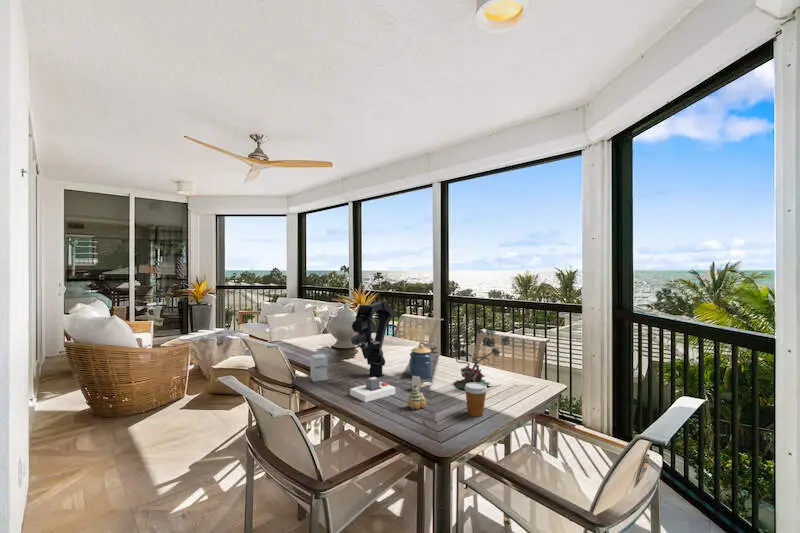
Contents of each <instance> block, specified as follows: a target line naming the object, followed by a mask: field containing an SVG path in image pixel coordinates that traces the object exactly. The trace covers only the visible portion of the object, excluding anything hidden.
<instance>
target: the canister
mask: <svg viewBox="0 0 800 533" xmlns="http://www.w3.org/2000/svg"><path fill="white" fill-rule="evenodd" d="M410 350H411V352H410V353H409V357H410V359H409V371H408V372H409V376H410V377H411V378H412V375H413V376H416V377H418V376H420V377H419V378H420V379H430V378H431V377H432V376H433V359H432V358H433V355H434V354H433V353H432V350H431V349H430V347H428V346H427V347H426V346H424V344H423V343H420V344H419V345H418V346H414V347H413V348H411V349H410Z"/></svg>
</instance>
